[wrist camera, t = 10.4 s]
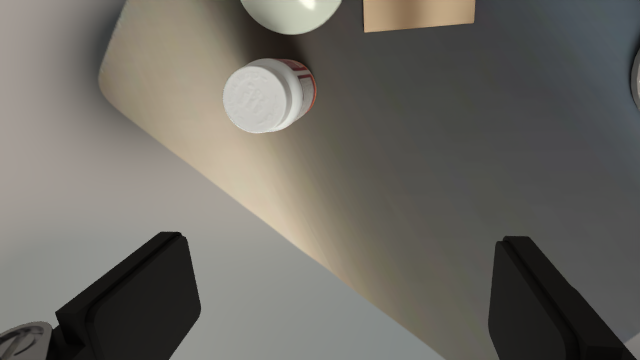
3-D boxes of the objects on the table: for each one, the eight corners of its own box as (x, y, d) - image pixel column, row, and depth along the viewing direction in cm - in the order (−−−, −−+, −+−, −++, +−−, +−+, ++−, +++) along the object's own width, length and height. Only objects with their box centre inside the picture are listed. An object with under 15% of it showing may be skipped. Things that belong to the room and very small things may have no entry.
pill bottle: (250, 81, 38) (199, 88, 27) (295, 46, 36) (260, 39, 25) (283, 129, 39) (246, 154, 28) (329, 98, 37) (308, 112, 26)
